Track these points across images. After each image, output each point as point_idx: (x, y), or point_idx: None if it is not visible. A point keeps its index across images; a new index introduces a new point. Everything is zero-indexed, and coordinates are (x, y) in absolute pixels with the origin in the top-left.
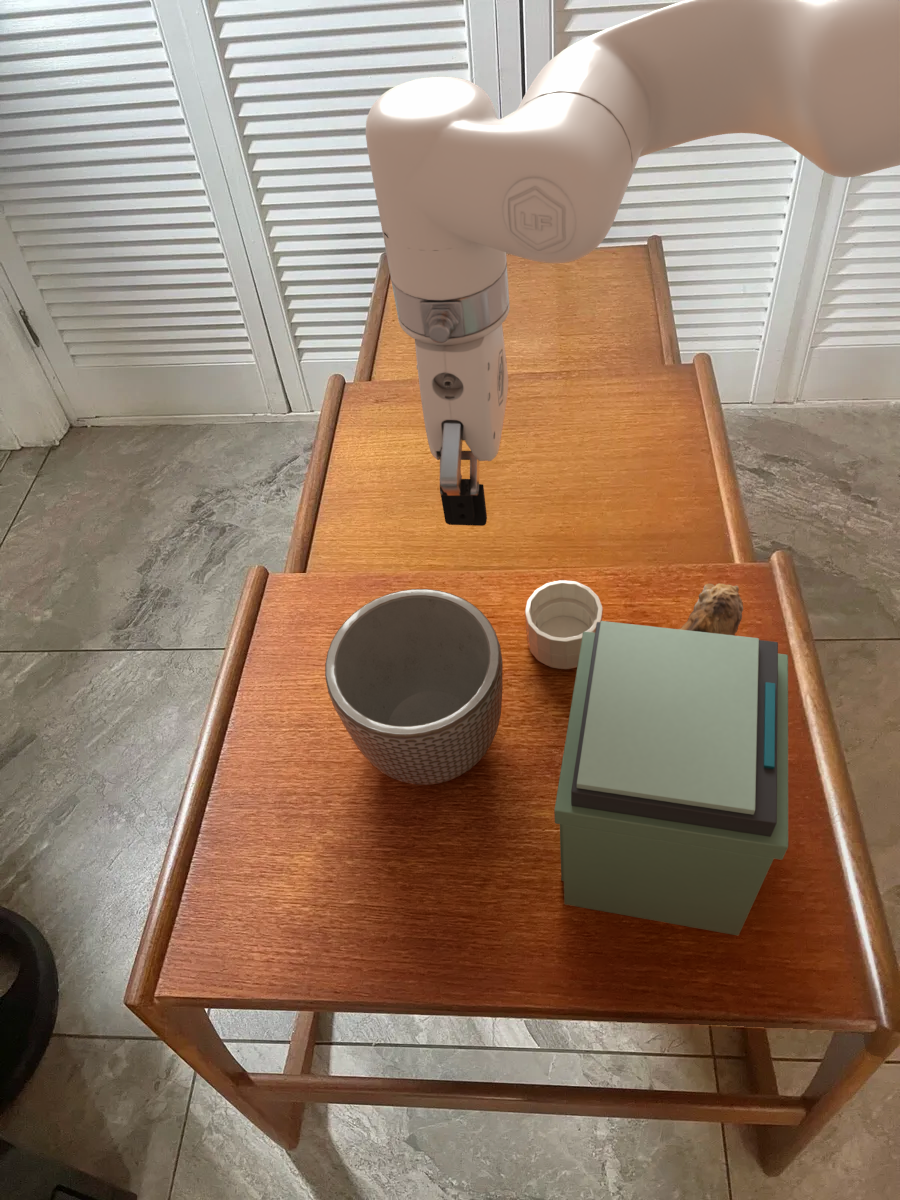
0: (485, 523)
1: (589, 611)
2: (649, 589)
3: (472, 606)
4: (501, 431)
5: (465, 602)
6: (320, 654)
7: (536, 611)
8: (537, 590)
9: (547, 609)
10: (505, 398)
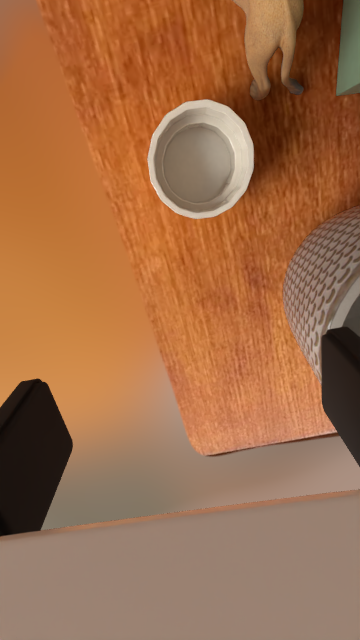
0: (346, 327)
1: (170, 134)
2: (85, 65)
3: (355, 282)
4: (298, 521)
5: (348, 295)
6: (259, 395)
7: (187, 206)
8: (176, 209)
9: (176, 194)
10: (11, 601)
